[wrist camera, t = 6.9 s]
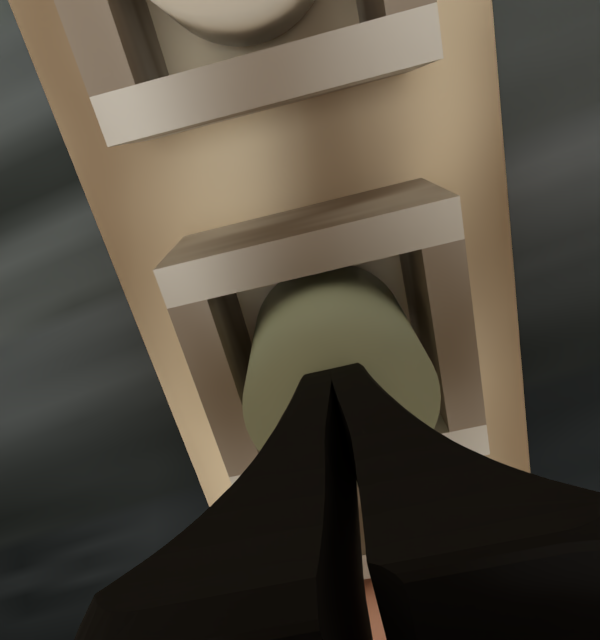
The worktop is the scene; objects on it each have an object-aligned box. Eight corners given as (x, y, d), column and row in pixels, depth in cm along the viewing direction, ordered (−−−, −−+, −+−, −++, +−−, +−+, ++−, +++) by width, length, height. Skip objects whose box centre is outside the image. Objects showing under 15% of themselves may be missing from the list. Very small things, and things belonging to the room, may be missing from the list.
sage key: (390, 246, 14) (426, 294, 10) (414, 382, 15) (452, 466, 12) (237, 282, 14) (216, 341, 10) (276, 411, 16) (271, 502, 12)
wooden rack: (457, -336, 11) (543, -574, 7) (535, 579, 21) (586, 678, 17) (-53, -170, 12) (-213, -303, 8) (262, 628, 22) (255, 731, 18)
